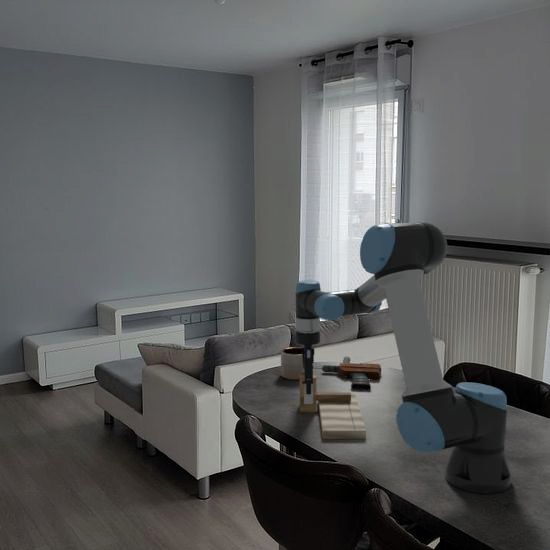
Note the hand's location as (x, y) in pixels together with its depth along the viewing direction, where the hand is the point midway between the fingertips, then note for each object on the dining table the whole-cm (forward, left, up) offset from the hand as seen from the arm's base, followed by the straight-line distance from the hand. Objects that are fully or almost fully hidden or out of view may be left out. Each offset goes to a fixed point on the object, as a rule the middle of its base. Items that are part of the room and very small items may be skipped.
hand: (307, 396), depth 203 cm
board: (-9, -9, -4) cm, 14 cm away
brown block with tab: (0, -5, -4) cm, 7 cm away
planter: (+34, +4, -4) cm, 34 cm away
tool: (+34, -14, -5) cm, 37 cm away
